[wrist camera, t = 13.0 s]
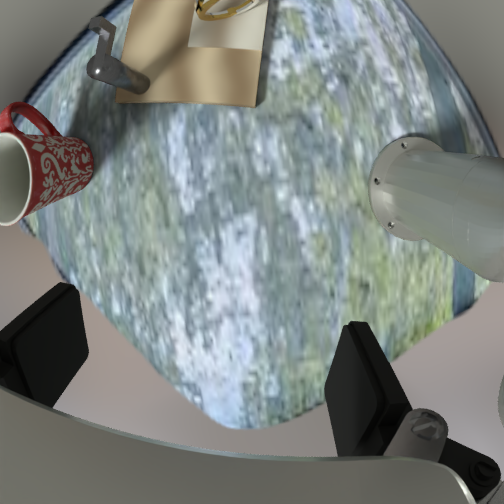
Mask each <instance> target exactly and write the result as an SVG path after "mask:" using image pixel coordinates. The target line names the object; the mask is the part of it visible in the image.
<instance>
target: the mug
mask: <svg viewBox="0 0 504 504" xmlns="http://www.w3.org/2000/svg"><path fill="white" fill-rule="evenodd" d="M11 112H16V113H19V114H21V115H23V116H24V117H26V118H27V119H28V120H30V121H31V122H32V123H33V124H34V125H35V126H36V127H37V128H38V129H39V130H40V131H41V132H42V133H43V134H44V135H25V134H24V133H23V132H21V131H19V130H18V129H17V128H16V127H15V125H14V124H13V122H12V118H11ZM0 130H1V132H2V133H0V225H3V226H9V225H13V224H15V223H17V222H18V221H19V220H20V219H21V218H23V217H25V216H26V215H28V214H31V213H33V212H35V211H37V210H39V209H41V208H43V207H45V206H47V205H49V204H51V203H53V202H56V201H58V200H60V199H62V198H64V197H67V196H69V195H71V194H74V193H76V192H78V191H80V190H82V189H83V188H84V187H85V186H86V185H87V184H88V182H89V180H90V178H91V176H92V173H93V166H94V164H93V156H92V153H91V150H90V148H89V147H88V145H87V144H86V143H85V142H84V141H83V140H81V139H79V138H75V137H63V136H62V135H61V134H60V133H59V132H58V131H57V130H56V128H55V127H54V126H53V125H52V123H51V122H50V121H49V120H48V119H47V118H46V117H45V116H44V115H43V114H42V113H40V112H39V111H38V110H37V109H36V108H34V107H33V106H31V105H29V104H27V103H24V102H14V103H12V104H10V105H9V106H7V107H6V108H5V109H4V110H3V111H2V113H1V115H0Z"/></svg>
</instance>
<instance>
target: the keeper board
mask: <svg viewBox="0 0 504 504" xmlns="http://www.w3.org/2000/svg"><path fill="white" fill-rule="evenodd" d="M207 1H209V0H204V2H203V4H204V3H206V2H207ZM246 1H247V0H220V1H219V2H217V3H216V4H215V5H213V6H212V7H211V8H210V9H208V10H207V12H208V13H216V12H222V11H226V10H227V9H228V8H231V7H234V8H235V7H237V6H239V5H241V4H243V3H244V2H246ZM268 3H269V0H260V1H259V2H258V3H257V4H256V5H255V6H253V7H252V8H250V9H248V10H247V11H245V12H243V13H240V14H238V15H237V16H235V17H232V18H230V17H229V18H225V19H221V20H215V21H204V20H201V19H199V17H198V15H197V13H196V11H195V8H194V4H195V0H134V3H133V7H132V11H131V15H130V19H129V24H128V28H127V33H126V37H125V42H124V47H123V53H122V58H121V62H123V63H125V64H126V65H128V66H130V67H132V68H134V69H135V70H137V71H139V72H141V73H142V74H144V75H146V76H147V77H148V78H149V79H150V87H149V89H148V90H147V91H146V92H145V93H143V94H140V95H137V94H134V93H132V92H129V91H126V90H124V89H121V88H118V87H117V89H116V97H115V102H116V103H120V104H124V103H192V104H212V105H227V106H239V107H250V108H255V106H256V98H257V89H258V81H259V73H260V65H261V57H262V49H263V41H264V34H265V26H266V18H267V11H268Z"/></svg>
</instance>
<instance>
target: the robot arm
mask: <svg viewBox="0 0 504 504" xmlns="http://www.w3.org/2000/svg"><path fill="white" fill-rule="evenodd" d="M401 144H403V147H401ZM375 178H376V179H377V181H376V182H374V179H375ZM368 195H369V202H370V205H371V208H372V211H373V213H374V215H375V217H376V219H377V220H378V222H379V223H380V224H381V225H382V227H384V228H385V229H386V230H387V231H388V232H390V233H391V234H393V235H394V236H396V237H398V238H401V239H403V240H410V241H416V240H422V239H425V240H427V241H428V242H430V243H431V244H433V245H434V246H436V247H437V248H439V249H441V250H442V251H444V252H445V253H447V254H448V255H450V256H451V257H453V258H454V259H455V260H457V261H458V262H460V263H461V264H463V265H464V266H466V267H467V268H469V269H470V270H472V271H473V272H474V273H476V274H477V275H479V276H481V277H482V278H484V279H487V280H489V281H493V282H502V283H503V282H504V158H499V157H491V156H483V155H474V154H465V153H454V152H445V151H444V150H443V149H442V148H441V147H440V146H438V145H437V144H436V143H434V142H433V141H430V140H428V139H426V138H421V137H405V138H400V139H398V140H396V141H393V142H392V143H390V144H389V145H387V146H386V147H385V148H384V149H383V150H382V151H381V152H380V153H379V155H378V156H377V158H376V160H375V161H374V163H373V166H372V169H371V171H370V176H369V181H368ZM389 222H390V225H388V223H389ZM88 353H89V349H88V344H87V338H86V333H85V328H84V321H83V315H82V308H81V301H80V294H79V291H78V290H77V289H76V287H75V286H74V285H72V284H67V283H63V282H60V283H58V284H57V285H56V286H54V287H53V288H52V289H50V290H49V291H48V292H47V293H45V294H44V295H43V296H42V297H40V298H39V299H38V300H37V301H35V302H34V303H33V304H32V305H30V306H29V307H28V308H27V309H25V310H24V311H23V312H22V313H21V314H19V315H18V316H17V317H16V318H15V319H14V320H13V321H11V322H10V323H9V324H8V325H7V326H5V327H4V328H3V329H2V330H1V331H0V504H504V481H501V480H500V479H501V472H500V468H499V467H498V464H497V463H496V462H495V461H494V460H493V459H491V458H490V457H488V456H486V455H484V454H481V453H479V452H477V451H475V450H472V449H470V448H468V447H466V446H464V445H462V444H460V443H458V442H456V441H453V440H451V439H449V438H447V436H448V426H447V423H446V421H445V420H444V418H443V417H441V416H440V415H439V414H438V413H436V412H434V411H432V410H429V409H421V408H419V409H414V410H413V409H412V407H411V405H410V403H409V401H408V399H407V397H406V395H405V393H404V391H403V389H402V387H401V385H400V383H399V381H398V379H397V377H396V375H395V373H394V371H393V369H392V367H391V365H390V363H389V362H388V360H387V358H386V356H385V354H384V353H383V351H382V349H381V347H380V345H379V343H378V341H377V339H376V338H375V336H374V334H373V332H372V330H371V328H370V327H369V325H368V323H367V322H359V321H350V322H349V324H348V325H344V326H343V329H342V332H341V336H340V339H339V342H338V346H337V349H336V352H335V355H334V358H333V362H332V365H331V368H330V371H329V374H328V377H327V380H326V383H325V388H324V392H325V397H326V402H327V407H328V411H329V416H330V420H331V425H332V429H333V435H334V440H335V444H336V449H337V454H338V457H294V456H269V455H255V454H244V453H234V452H225V451H217V450H210V449H203V448H196V447H191V446H185V445H179V444H174V443H169V442H164V441H160V440H155V439H150V438H146V437H142V436H138V435H133V434H130V433H126V432H122V431H119V430H115V429H112V428H109V427H105V426H102V425H99V424H95V423H92V422H89V421H86V420H83V419H80V418H77V417H74V416H72V415H69V414H66V413H63V412H61V411H58V410H56V409H53V406H54V405H55V403H56V402H57V400H58V399H59V397H60V396H61V395H62V393H63V392H64V390H65V389H66V387H67V386H68V384H69V383H70V382H71V380H72V379H73V377H74V376H75V375H76V373H77V372H78V370H79V369H80V368H81V366H82V365H83V363H84V362H85V361H86V359H87V357H88ZM498 412H499V416H500V420H501V422H502V425H503V427H504V376H503V379H502V382H501V386H500V390H499V396H498Z"/></svg>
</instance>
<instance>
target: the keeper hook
mask: <svg viewBox="0 0 504 504" xmlns="http://www.w3.org/2000/svg"><path fill="white" fill-rule="evenodd" d="M89 29H90V30H92V31H94V32H95V33H97V34H99V35H100V36H99V40H98V45H97V50H96V54H95V55H94V56H93V57H92V58H91V59H90V60H89V62H88V64H87V74H88V76H89V77H91V78H93V79H96V80H99V81H102V82H105V83H108V84H110V85H113V86H116V87H118V88H121V89H124V90H126V91H129V92H132V93H134V94H137V95H140V94H143V93H145V92H146V91H147V90H148V89H149V87H150V79H149V78H148V77H147V76H146V75H144V74H142V73H141V72H139V71H137V70H135V69H134V68H132V67H130V66H128V65H126V64H125V63H123V62H121V61H119V60H117V59H116V58H114V57H112V56H111V51H112V46H113V41H114V36H115V31H116V26H114V25H113V24H112V23H110V22H109V21H107V20H106V19H105V18H103V17H102V16H100V17H95V18H91V21H90V25H89Z"/></svg>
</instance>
